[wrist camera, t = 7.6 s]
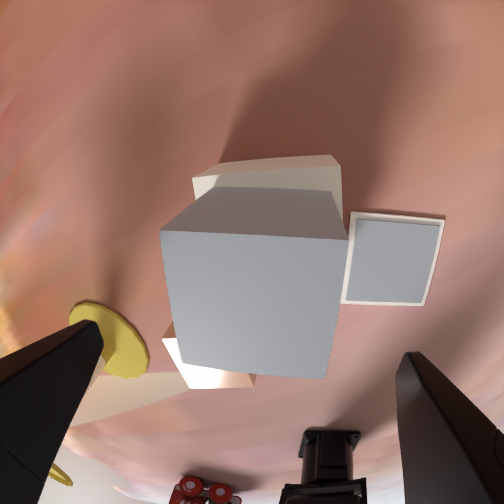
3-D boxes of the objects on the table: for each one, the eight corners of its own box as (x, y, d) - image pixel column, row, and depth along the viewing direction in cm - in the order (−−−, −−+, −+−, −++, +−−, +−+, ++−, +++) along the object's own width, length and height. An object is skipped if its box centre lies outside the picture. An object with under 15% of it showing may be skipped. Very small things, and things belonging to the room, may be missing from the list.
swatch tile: (422, 304, 20) (424, 307, 20) (339, 301, 21) (339, 305, 21) (443, 219, 17) (446, 221, 17) (350, 211, 18) (351, 213, 18)
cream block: (334, 258, 20) (341, 299, 16) (233, 262, 21) (215, 301, 17) (330, 154, 17) (340, 166, 13) (218, 163, 19) (192, 177, 14)
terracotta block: (263, 341, 24) (253, 386, 20) (207, 346, 25) (190, 388, 21) (246, 289, 22) (231, 333, 18) (186, 298, 23) (161, 338, 19)
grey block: (330, 191, 13) (349, 240, 8) (320, 294, 16) (324, 378, 10) (213, 186, 14) (159, 230, 9) (218, 286, 16) (181, 363, 11)
